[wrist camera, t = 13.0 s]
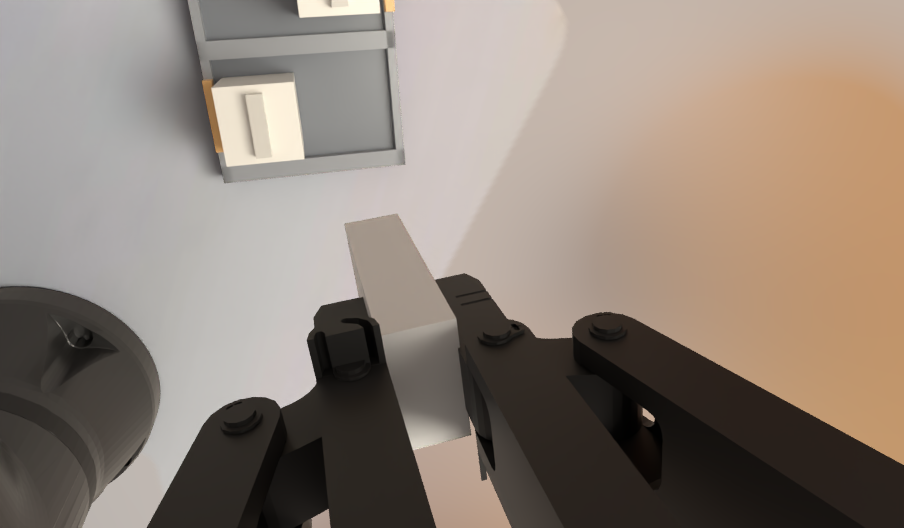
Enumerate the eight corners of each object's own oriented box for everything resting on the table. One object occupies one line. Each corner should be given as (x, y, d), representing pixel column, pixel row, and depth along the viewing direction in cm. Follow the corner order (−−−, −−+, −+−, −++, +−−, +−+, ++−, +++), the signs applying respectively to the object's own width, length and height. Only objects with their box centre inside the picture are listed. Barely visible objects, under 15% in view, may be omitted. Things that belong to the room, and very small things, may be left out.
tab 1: (235, 147, 37) (225, 169, 32) (222, 77, 35) (209, 89, 30) (303, 140, 38) (304, 161, 32) (293, 72, 36) (293, 83, 31)
